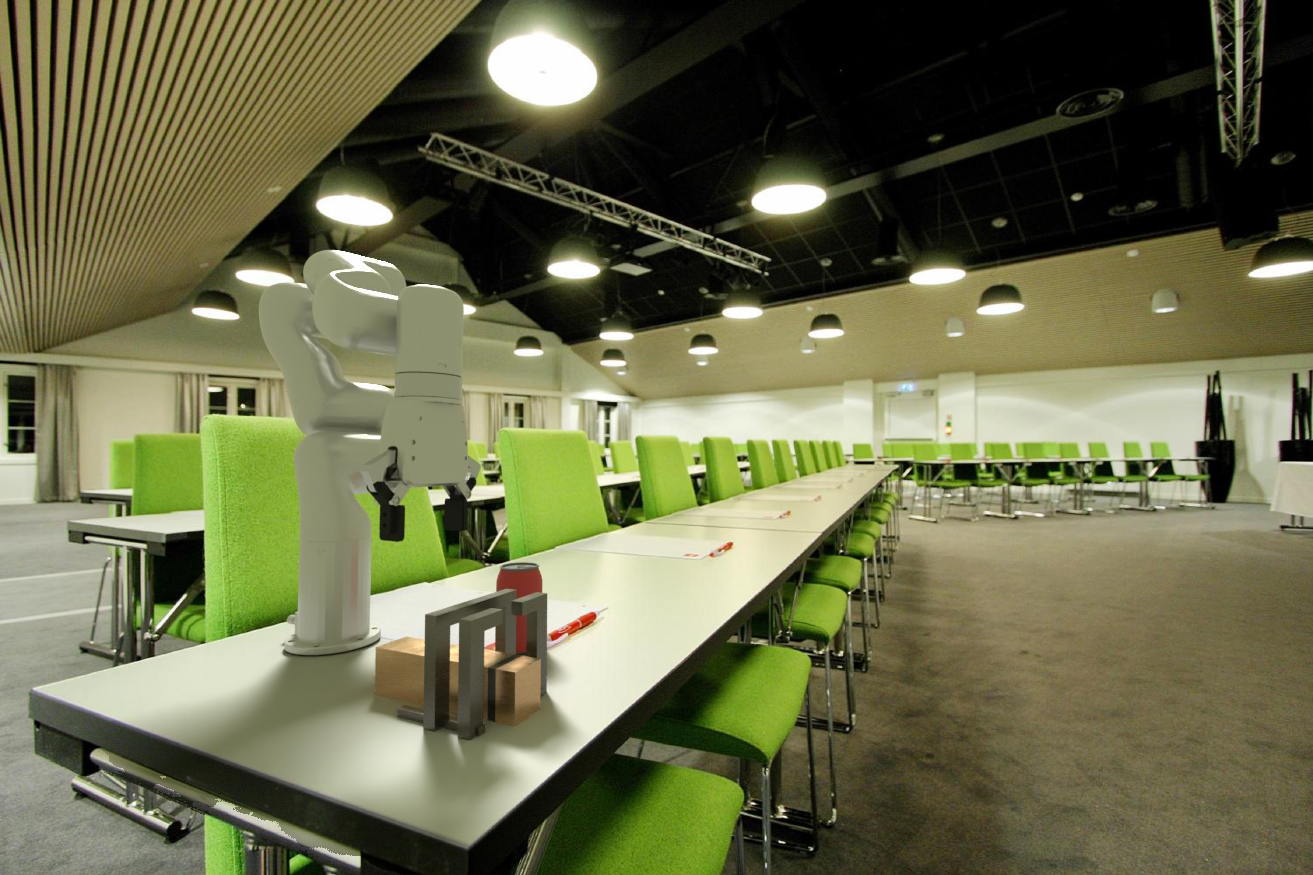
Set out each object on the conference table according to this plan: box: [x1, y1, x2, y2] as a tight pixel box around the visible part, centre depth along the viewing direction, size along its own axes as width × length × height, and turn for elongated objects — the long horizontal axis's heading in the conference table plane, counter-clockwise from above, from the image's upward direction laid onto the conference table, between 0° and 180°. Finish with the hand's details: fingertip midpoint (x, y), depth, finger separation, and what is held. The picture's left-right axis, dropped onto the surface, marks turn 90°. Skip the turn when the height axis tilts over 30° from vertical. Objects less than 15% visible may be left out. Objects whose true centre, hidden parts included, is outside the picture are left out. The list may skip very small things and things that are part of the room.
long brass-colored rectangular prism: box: [374, 636, 541, 727], centre depth 66 cm, size 20×4×6 cm, turn 66°
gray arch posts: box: [396, 589, 548, 741], centre depth 65 cm, size 11×13×12 cm
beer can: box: [495, 561, 543, 655], centre depth 84 cm, size 7×7×12 cm
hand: (425, 535), depth 69 cm, fingers open, 9 cm apart
